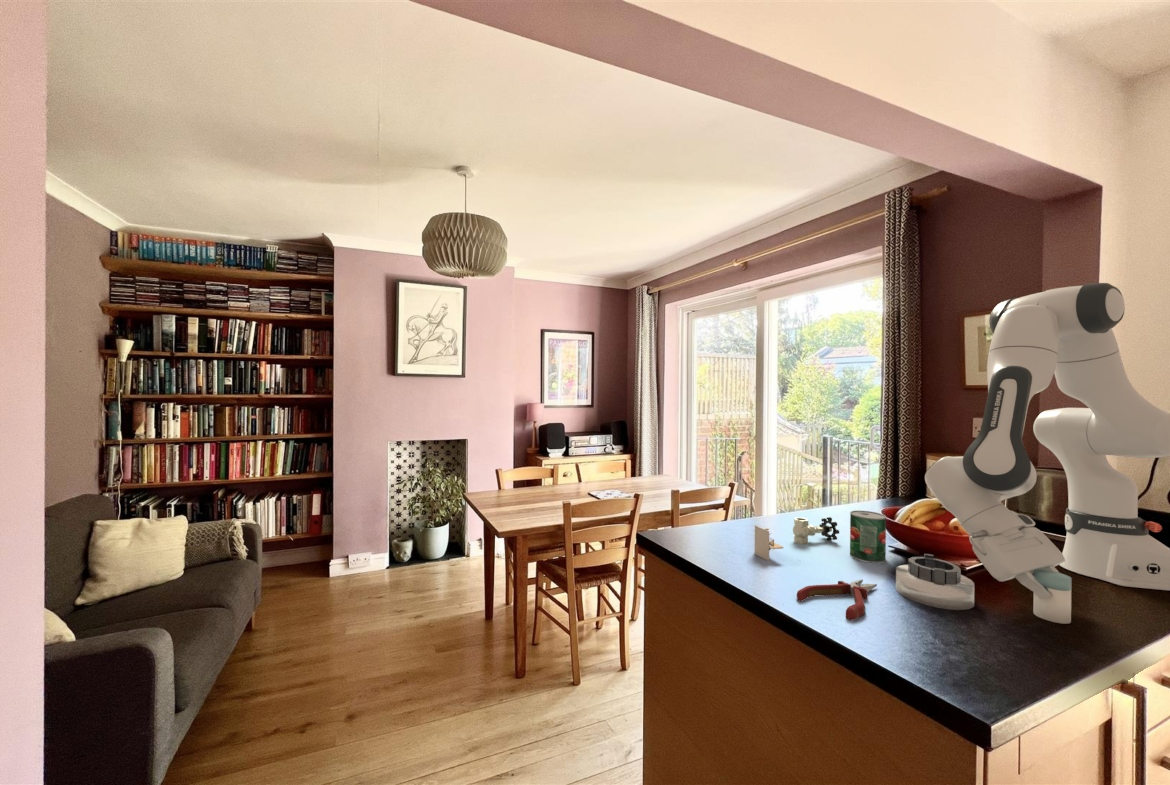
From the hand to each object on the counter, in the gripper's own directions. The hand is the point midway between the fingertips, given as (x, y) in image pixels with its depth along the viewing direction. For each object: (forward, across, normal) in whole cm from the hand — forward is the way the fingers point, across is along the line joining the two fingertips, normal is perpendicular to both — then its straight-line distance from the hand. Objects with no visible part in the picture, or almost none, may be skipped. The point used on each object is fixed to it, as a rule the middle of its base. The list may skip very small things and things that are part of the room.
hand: (1056, 595), depth 87 cm
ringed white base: (-8, -10, +14) cm, 19 cm away
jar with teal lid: (+3, 0, +4) cm, 4 cm away
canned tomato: (-22, -2, +28) cm, 36 cm away
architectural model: (-29, -26, +36) cm, 53 cm away
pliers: (-10, -29, +18) cm, 36 cm away
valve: (-32, -4, +39) cm, 51 cm away
